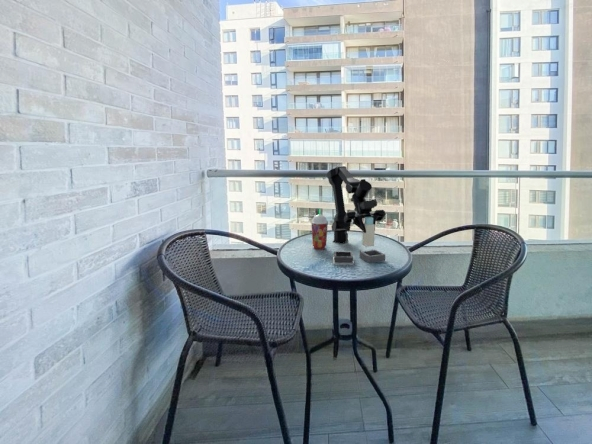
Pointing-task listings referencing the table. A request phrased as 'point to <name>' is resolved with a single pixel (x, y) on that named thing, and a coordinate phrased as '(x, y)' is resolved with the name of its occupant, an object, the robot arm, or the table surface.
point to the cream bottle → (368, 232)
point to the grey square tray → (372, 256)
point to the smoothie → (319, 231)
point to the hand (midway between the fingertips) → (369, 232)
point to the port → (343, 258)
